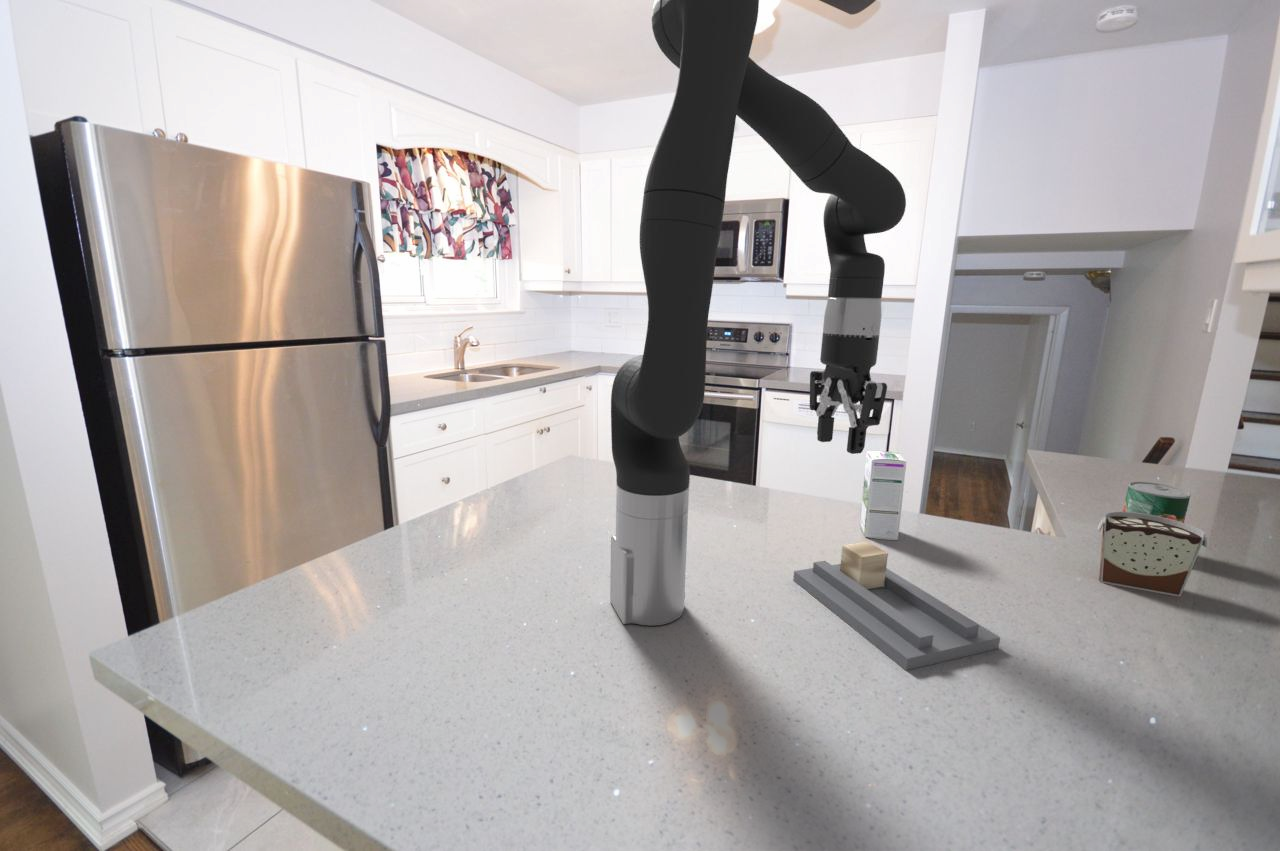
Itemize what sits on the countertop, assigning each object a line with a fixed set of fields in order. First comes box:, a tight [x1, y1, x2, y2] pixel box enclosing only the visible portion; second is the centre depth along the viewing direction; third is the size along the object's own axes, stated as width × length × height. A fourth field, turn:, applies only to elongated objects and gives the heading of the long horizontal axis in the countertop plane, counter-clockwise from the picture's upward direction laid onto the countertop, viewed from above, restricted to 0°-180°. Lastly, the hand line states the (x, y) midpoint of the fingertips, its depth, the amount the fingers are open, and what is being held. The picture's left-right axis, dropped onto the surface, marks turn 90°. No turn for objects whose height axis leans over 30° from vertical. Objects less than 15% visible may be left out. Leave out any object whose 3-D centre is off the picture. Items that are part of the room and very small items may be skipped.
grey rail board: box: [793, 560, 1001, 671], centre depth 76 cm, size 22×14×3 cm, turn 19°
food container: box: [1097, 511, 1208, 598], centre depth 86 cm, size 12×6×10 cm, turn 65°
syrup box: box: [859, 450, 907, 541], centre depth 101 cm, size 6×6×14 cm
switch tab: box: [839, 541, 889, 589], centre depth 80 cm, size 4×4×5 cm
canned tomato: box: [1122, 481, 1192, 523], centre depth 97 cm, size 8×8×11 cm
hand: (839, 446), depth 84 cm, fingers open, 6 cm apart
